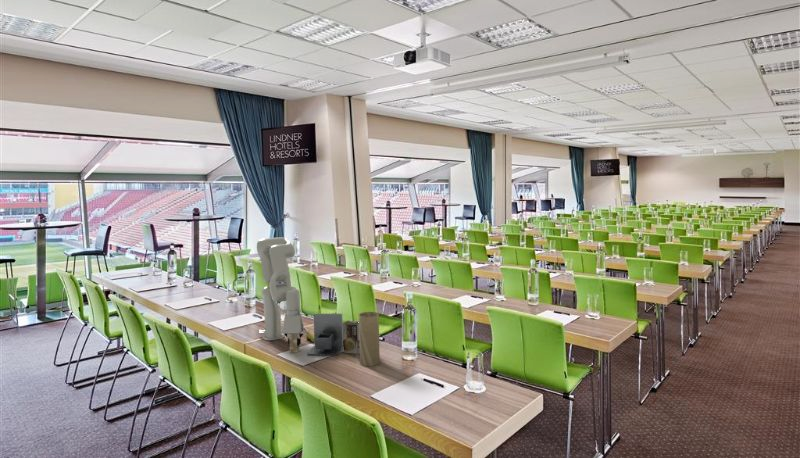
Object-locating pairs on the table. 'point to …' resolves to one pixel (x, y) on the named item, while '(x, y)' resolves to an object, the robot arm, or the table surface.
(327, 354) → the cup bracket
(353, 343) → the coffee box
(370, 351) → the tube
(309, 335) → the plastic component
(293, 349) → the wooden block
